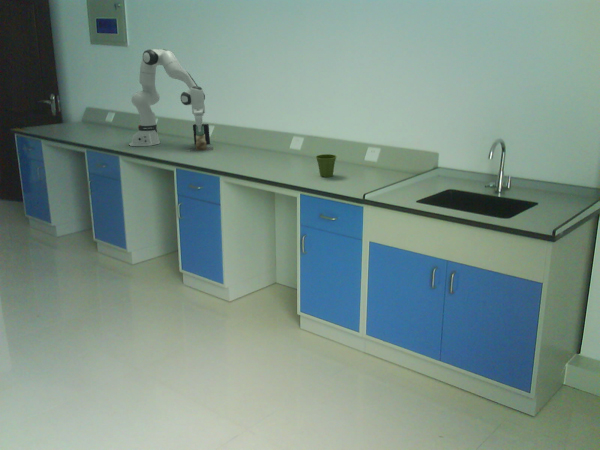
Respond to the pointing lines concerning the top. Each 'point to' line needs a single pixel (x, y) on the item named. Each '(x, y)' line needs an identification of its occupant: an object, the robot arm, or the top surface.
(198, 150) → the mat
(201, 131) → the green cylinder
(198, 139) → the top block
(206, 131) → the black upright flat panel
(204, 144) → the bottom block
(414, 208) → the top surface
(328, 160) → the plant pot
